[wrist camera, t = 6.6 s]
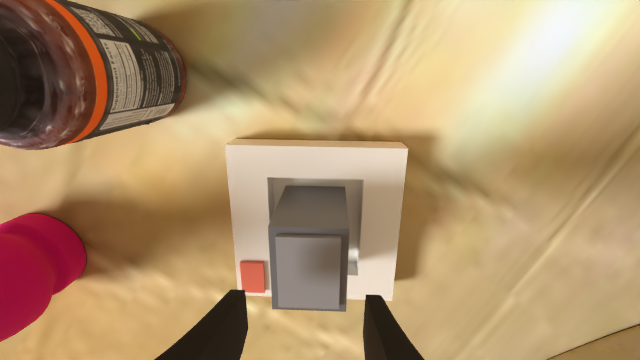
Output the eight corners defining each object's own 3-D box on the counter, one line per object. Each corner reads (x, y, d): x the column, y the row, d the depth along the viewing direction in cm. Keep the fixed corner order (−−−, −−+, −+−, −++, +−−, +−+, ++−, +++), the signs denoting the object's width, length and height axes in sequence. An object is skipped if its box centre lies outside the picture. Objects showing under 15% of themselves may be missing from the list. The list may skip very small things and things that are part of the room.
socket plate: (401, 141, 20) (409, 149, 18) (387, 282, 23) (392, 303, 21) (234, 138, 20) (222, 146, 18) (246, 277, 24) (237, 297, 21)
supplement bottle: (93, 105, 20) (-188, 136, 9) (100, 7, 18) (-244, -98, 7) (182, 133, 20) (12, 195, 9) (198, 40, 18) (8, -13, 8)
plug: (344, 186, 20) (349, 231, 14) (342, 251, 22) (346, 315, 16) (285, 185, 21) (266, 229, 15) (288, 249, 22) (271, 312, 16)
